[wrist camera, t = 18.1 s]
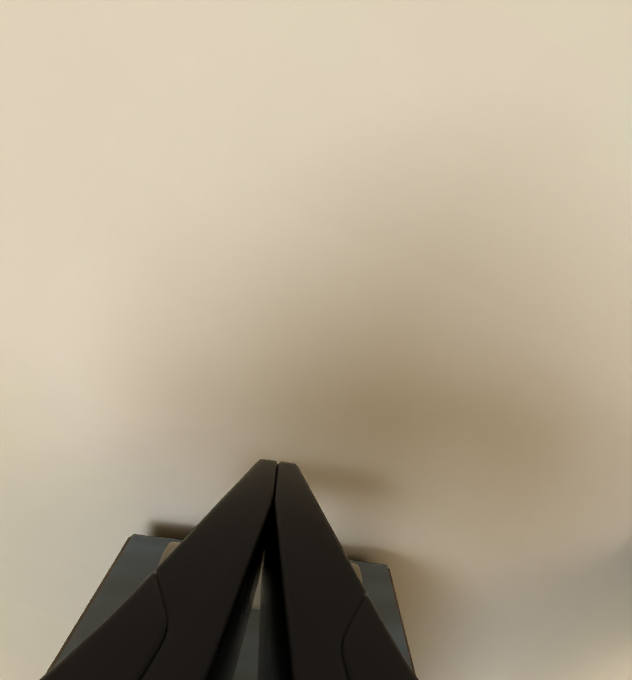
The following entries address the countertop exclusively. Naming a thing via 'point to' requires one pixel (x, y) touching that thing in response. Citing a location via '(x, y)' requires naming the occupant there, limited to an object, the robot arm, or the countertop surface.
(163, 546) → the drawer
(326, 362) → the countertop surface
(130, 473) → the countertop surface
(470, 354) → the countertop surface
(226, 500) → the robot arm
